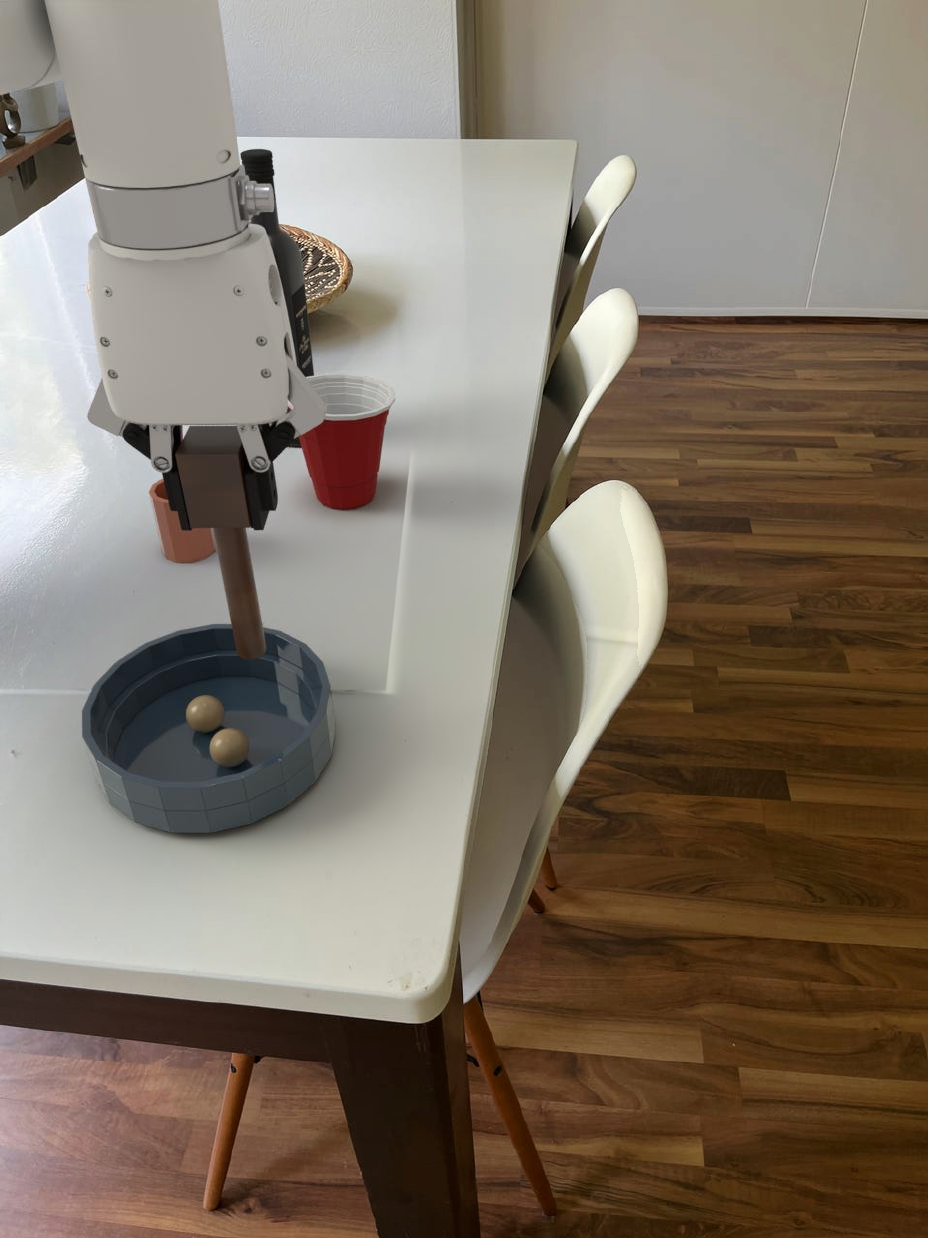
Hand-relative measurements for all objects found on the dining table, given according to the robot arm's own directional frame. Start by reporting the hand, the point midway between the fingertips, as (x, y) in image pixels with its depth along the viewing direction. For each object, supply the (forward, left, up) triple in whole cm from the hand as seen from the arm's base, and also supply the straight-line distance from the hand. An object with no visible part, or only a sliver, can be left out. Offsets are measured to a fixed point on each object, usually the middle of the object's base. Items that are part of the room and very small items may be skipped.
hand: (226, 516), depth 61 cm
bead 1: (-5, +2, -18) cm, 19 cm away
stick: (0, 0, -11) cm, 11 cm away
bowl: (-4, 0, -20) cm, 21 cm away
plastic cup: (+2, +36, -20) cm, 42 cm away
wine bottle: (-6, +50, -20) cm, 54 cm away
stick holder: (-12, +26, -20) cm, 35 cm away
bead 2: (-2, -2, -18) cm, 18 cm away
